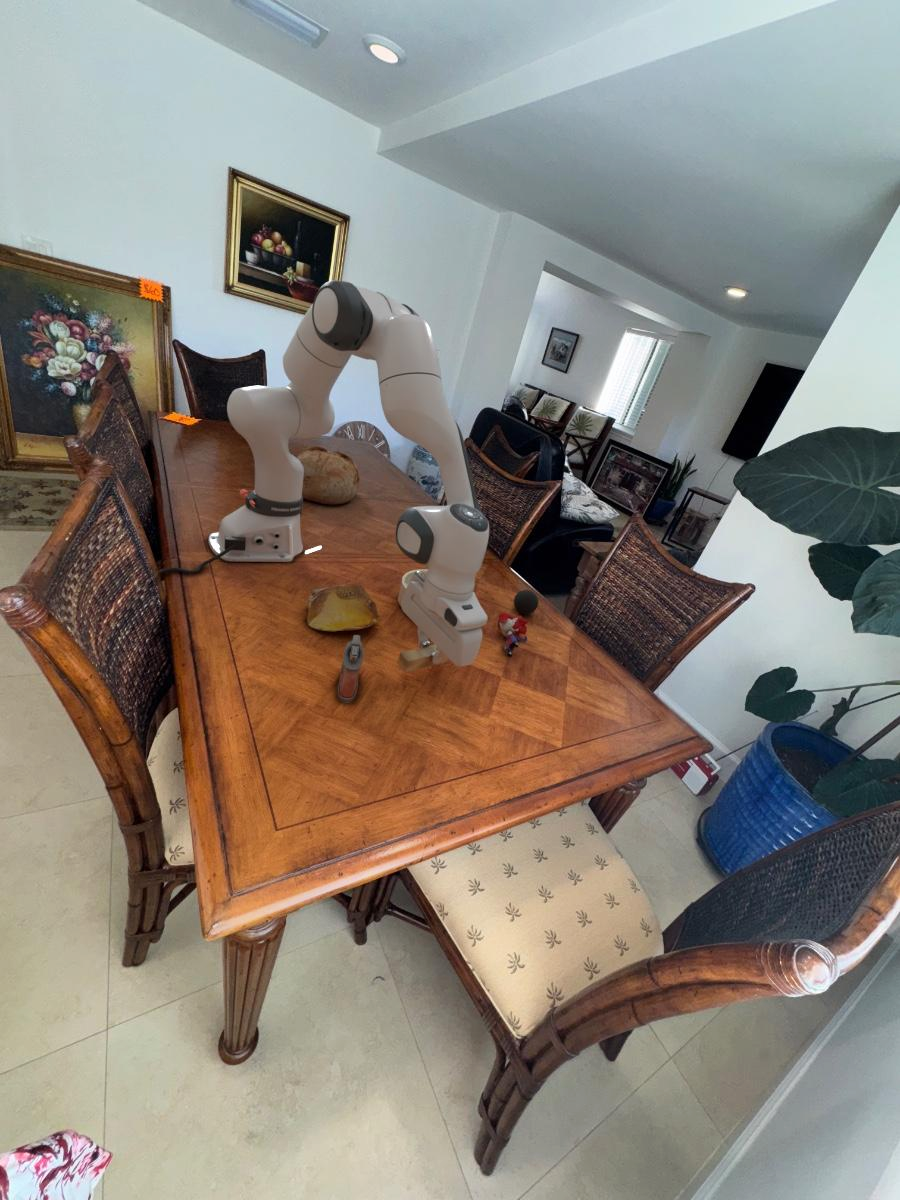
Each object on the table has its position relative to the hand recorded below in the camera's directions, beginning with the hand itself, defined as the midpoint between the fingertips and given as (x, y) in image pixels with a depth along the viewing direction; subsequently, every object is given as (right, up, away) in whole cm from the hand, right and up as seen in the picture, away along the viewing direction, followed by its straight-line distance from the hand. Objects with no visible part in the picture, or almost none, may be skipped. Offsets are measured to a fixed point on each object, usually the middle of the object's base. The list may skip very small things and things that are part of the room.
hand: (428, 655), depth 93 cm
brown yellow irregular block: (-20, +7, +12) cm, 24 cm away
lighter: (-14, -5, -7) cm, 17 cm away
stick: (0, -1, +1) cm, 2 cm away
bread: (-40, +48, +74) cm, 97 cm away
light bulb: (+23, +8, +36) cm, 43 cm away
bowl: (-1, +9, +25) cm, 27 cm away
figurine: (+18, 0, +20) cm, 27 cm away
